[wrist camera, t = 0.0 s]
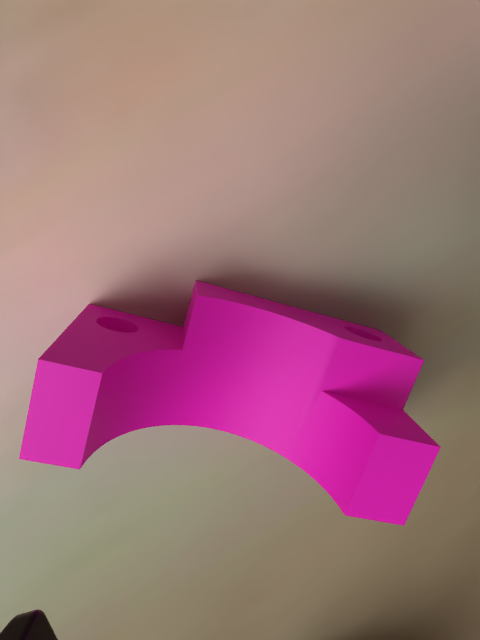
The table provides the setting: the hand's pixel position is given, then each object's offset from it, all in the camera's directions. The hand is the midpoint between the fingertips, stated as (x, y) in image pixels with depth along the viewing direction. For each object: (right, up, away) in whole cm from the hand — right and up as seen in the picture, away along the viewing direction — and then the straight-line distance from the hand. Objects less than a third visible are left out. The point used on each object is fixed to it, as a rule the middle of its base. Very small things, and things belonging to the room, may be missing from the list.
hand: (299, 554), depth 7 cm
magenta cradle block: (-1, +3, +15) cm, 15 cm away
